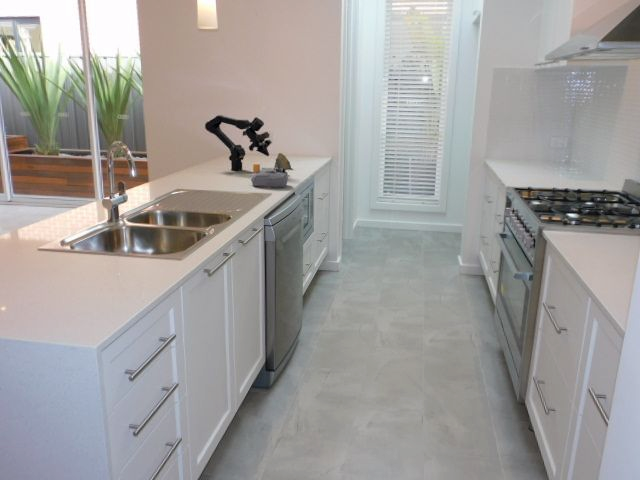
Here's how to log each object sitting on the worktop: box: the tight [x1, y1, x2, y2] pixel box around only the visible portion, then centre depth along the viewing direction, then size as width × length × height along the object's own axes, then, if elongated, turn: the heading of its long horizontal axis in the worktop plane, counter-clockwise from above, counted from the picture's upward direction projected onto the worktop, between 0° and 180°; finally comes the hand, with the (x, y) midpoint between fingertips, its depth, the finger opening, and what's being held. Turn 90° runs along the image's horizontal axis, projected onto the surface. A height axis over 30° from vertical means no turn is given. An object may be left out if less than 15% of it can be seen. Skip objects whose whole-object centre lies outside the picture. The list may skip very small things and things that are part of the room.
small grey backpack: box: [250, 171, 288, 189], centre depth 306 cm, size 15×8×20 cm
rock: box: [273, 152, 292, 170], centre depth 368 cm, size 11×9×10 cm
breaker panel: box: [259, 167, 287, 175], centre depth 347 cm, size 16×17×4 cm
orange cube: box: [252, 162, 261, 173], centre depth 352 cm, size 4×4×5 cm
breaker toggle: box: [275, 158, 283, 171], centre depth 342 cm, size 2×3×8 cm, turn 154°
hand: (268, 155), depth 344 cm, fingers closed
